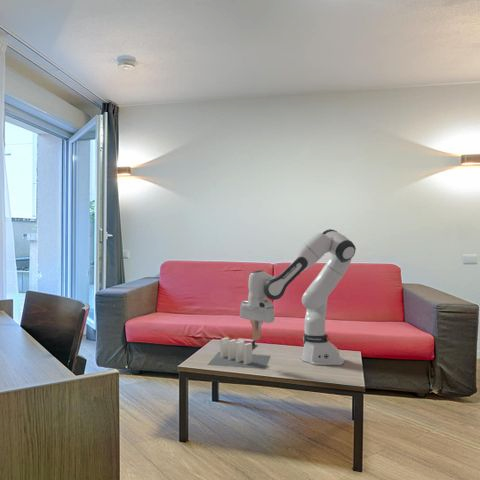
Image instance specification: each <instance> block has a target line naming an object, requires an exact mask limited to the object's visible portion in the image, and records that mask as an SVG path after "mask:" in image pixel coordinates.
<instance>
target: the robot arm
mask: <svg viewBox="0 0 480 480" xmlns="http://www.w3.org/2000/svg"><path fill="white" fill-rule="evenodd" d="M356 250H357V248H356V246H355V244H354V243H353V242H352V241H351V240H350V239H349V238H348V237H346V235H343V234H341V233H340V232H338V231H337V230H335V229H330V228H329V229H325V230H324V231H323V232H318V233H317V234H314V236H311V238H309V239H307V240H306V242H304V244H302V245H301V246H300V247H299V248H298V250H297V251H296V253H295V254H294V257H293V259H292V262H291V263H290V264H289V265H288V267H286V268H285V269H284V270H283V271H282V272H281V273H280V274H279V275H278V276H273V275H271V274H269V273H267V272H266V271H264V270H262V269H260V270H259V269H258V270H254V271H252V272H250V273H249V276H248V282H247V283H248V284H247V285H248V294H247V300H245V299H244V300H242V301H241V303H240V309H239V317H240V318H241V319H244V320H249V321H250V322H249V323H250V325H251V326H252V320H256V321H258V323H259V325H258V326H257V330H262V326H263V323H268V324H271V323H274V322H275V317H276V316H275V309H274V308H273V307H274V306H275V304H274V302H273V301H276V300H279V299H281V298H282V297H283V296H284V294H285V292H286V290H287V287H288V286H289V285H290V284H291V283H292V282H293V281H294V280H295V279H296V278H297V277H298V276H299V275H300V274H301V273H303V272H305V271H306V270H307V269H309V268H311V267H312V266H314V265H315V264H317V262H318V261H320V260H321V259H322V257H324V256H325V254H326V253H330V254H331V256H330V257H329V258H328V260H327V261H326V263H325V265H323V267H322V268H321V270H320V272H319V273H318V275H316V277H315V278H314V279H313V281H312V282H311V283H310V284H309V286H308V287H307V289H306V290H305V292H304V293H303V294H302V296H301V303H302V306H303V307H304V308H305V309H306V311H305V317H304V332H303V339H302V340H303V350H302V354H301V359H300V360H302V361H304V362H306V363H309V364H311V365H314V366H317V365H318V366H341V365H343V364H344V363H345V360H344V358H343V357H342V356H341V354H340V351H339V349H338V348H337V346H336V345H334V344H333V343H332V342H331V341H330V340H331V337H330V335H328V334H327V333H326V316H327V309H328V308H327V307H328V298H329V296H330V295H331V294H332V291H334V289H336V287H337V286H338V284H339V283H340V281H341V279H342V278H343V277H344V275H345V274H346V272H347V271H348V269H349V266H350V265H351V262H352V259H353V258H354V256H355V254H356ZM267 298H268V299H267ZM271 300H273V301H271Z"/></svg>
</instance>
